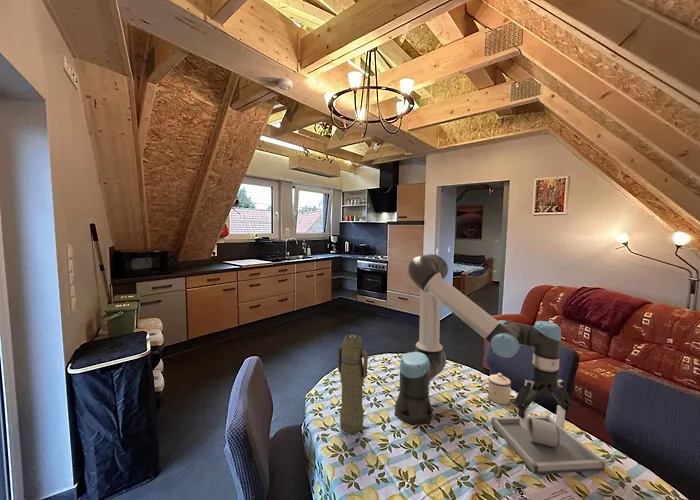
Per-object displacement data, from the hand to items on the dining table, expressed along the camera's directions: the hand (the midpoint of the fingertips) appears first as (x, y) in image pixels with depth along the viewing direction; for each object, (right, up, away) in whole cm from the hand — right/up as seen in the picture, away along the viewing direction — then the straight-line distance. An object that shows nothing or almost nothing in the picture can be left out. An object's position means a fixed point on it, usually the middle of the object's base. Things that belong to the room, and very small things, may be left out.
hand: (541, 426), depth 99 cm
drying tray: (0, -7, 0) cm, 7 cm away
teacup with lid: (-2, -5, +28) cm, 29 cm away
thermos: (-67, -6, +8) cm, 67 cm away
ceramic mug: (+1, -6, +1) cm, 6 cm away
